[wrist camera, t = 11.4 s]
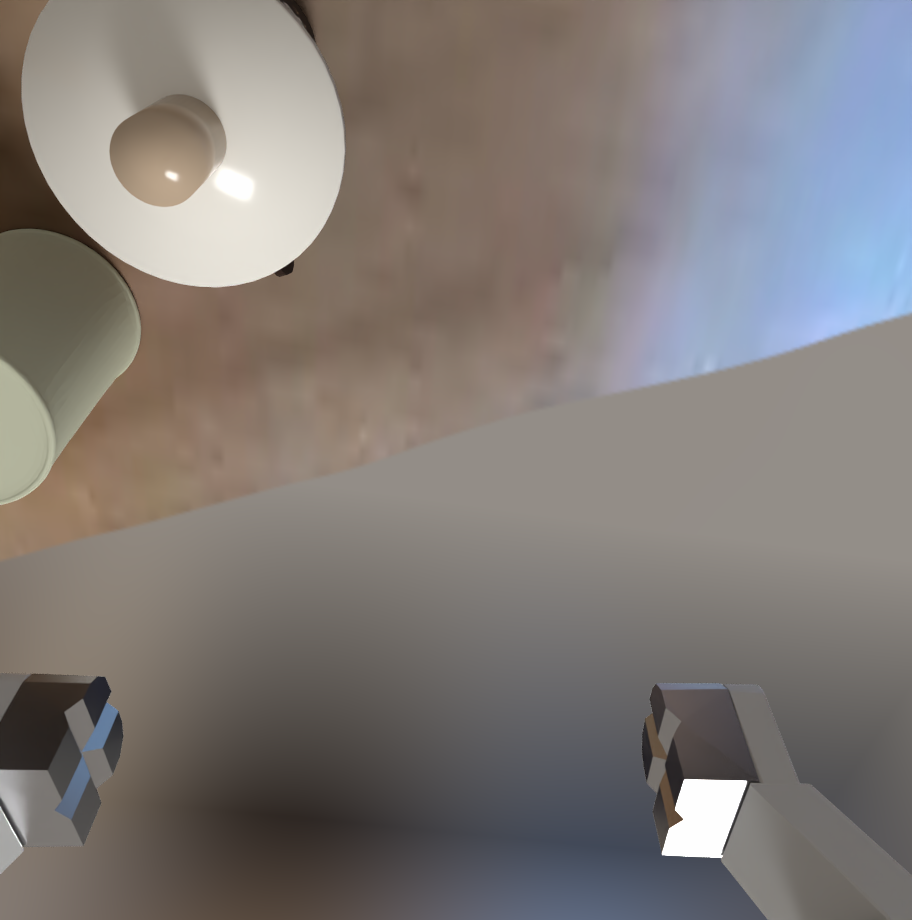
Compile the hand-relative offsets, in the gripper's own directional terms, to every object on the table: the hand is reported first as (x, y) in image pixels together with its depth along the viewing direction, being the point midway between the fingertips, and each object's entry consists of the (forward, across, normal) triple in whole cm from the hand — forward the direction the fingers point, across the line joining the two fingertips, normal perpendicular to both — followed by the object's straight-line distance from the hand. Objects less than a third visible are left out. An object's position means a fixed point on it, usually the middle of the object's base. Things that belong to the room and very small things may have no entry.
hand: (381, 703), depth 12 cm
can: (+32, +21, +8) cm, 39 cm away
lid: (+22, +9, -3) cm, 24 cm away
